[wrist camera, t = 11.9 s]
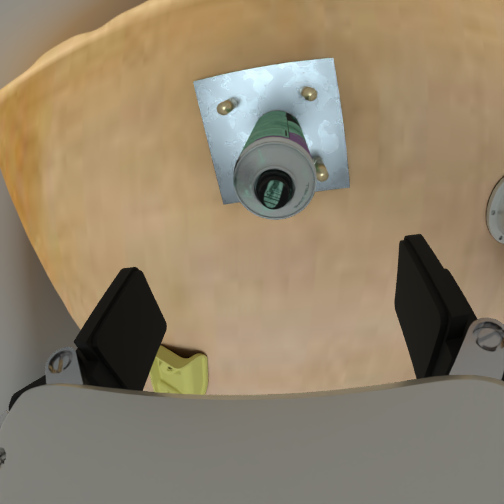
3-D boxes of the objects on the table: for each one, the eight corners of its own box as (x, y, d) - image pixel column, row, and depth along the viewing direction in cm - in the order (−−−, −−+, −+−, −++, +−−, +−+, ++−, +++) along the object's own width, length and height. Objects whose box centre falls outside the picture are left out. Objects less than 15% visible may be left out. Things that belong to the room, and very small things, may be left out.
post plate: (331, 58, 30) (341, 55, 25) (347, 183, 38) (358, 203, 33) (196, 81, 33) (180, 83, 27) (225, 199, 41) (216, 222, 36)
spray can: (260, 159, 36) (240, 246, 19) (248, 115, 34) (213, 162, 17) (305, 150, 35) (328, 230, 18) (295, 105, 32) (312, 140, 16)
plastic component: (143, 348, 56) (182, 373, 52) (168, 328, 62) (207, 350, 58) (157, 404, 66) (190, 426, 61) (176, 386, 71) (209, 406, 67)
